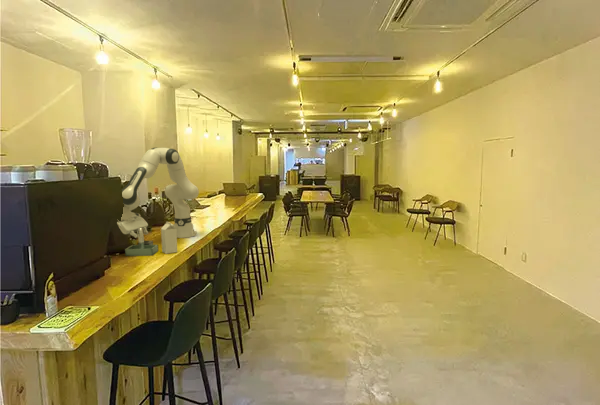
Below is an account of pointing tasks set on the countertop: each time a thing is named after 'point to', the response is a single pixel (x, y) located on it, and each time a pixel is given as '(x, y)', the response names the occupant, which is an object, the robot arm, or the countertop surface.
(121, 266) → the countertop surface
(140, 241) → the lock pin
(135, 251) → the tray
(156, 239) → the countertop surface
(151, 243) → the socket block
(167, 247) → the milk carton
